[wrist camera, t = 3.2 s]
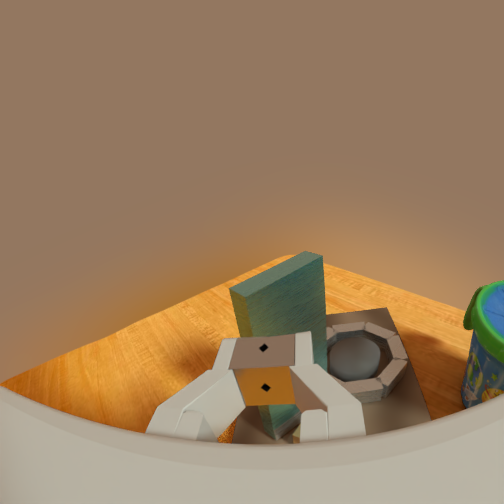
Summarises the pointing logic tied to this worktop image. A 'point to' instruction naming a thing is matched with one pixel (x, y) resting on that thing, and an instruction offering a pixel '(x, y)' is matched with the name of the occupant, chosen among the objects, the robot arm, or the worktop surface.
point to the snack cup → (485, 345)
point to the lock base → (353, 369)
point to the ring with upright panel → (308, 329)
